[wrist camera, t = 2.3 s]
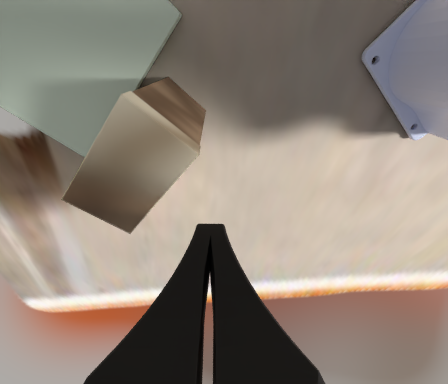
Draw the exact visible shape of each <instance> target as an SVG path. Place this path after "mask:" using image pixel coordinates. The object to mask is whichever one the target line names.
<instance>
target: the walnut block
mask: <svg viewBox="0 0 448 384" xmlns="http://www.w3.org/2000/svg"><path fill="white" fill-rule="evenodd" d="M205 112H206V110H205V109H204V108H203V107H202V106H200V105H199V104H198V103H197V102H196V101H195V100H194V99H193V98H191V97H190V96H189V95H188V94H187V93H186V92H185V91H184V90H182V89H181V88H180V87H179V86H178V85H177V84H176V83H175V82H173V81H172V80H171V79H170V78H169V77H167V78H165V79H162V80H160V81H157V82H155V83H152V84H150V85H147V86H145V87H142V88H140V89H137V90H135V91H128V92H126V93H123V94H121V95H120V97H119V99H118V100H117V102H116V104H115V106H114V108H113V109H112V111H111V113H110V115H109V116H108V118H107V120H106V122H105V123H104V125H103V127H102V129H101V130H100V132H99V134H98V136H97V137H96V139H95V141H94V143H93V144H92V146H91V148H90V150H89V152H88V153H87V155H86V157H85V159H84V160H83V162H82V164H81V166H80V167H79V169H78V171H77V173H76V174H75V176H74V178H73V180H72V181H71V183H70V185H69V187H68V188H67V190H66V192H65V194H64V196H63V197H62V199H61V200H63V201H65V202H67V203H69V204H71V205H73V206H75V207H77V208H79V209H81V210H83V211H85V212H87V213H89V214H91V215H93V216H95V217H97V218H99V219H101V220H103V221H105V222H107V223H109V224H111V225H113V226H115V227H117V228H119V229H121V230H123V231H125V232H127V233H129V234H131V232H132V231H133V230H134V229H135V228H136V227H137V225H138V224H139V223H140V222H141V221H142V220H143V219H144V217H145V216H146V215H147V214H148V213H149V212H150V211H151V209H152V208H153V207H154V206H155V205H156V204H157V203H158V201H159V200H160V199H161V198H162V197H163V196H164V194H165V193H166V192H167V191H168V190H169V189H170V188H171V186H172V185H173V184H174V183H175V182H176V181H177V180H178V178H179V177H180V176H181V175H182V174H183V173H184V171H185V170H186V169H187V168H188V167H189V166H190V165H191V163H192V162H193V161H194V160H195V159H196V158H197V157H198V155H199V153H200V140H201V135H202V129H203V123H204V118H205Z"/></svg>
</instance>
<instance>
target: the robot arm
mask: <svg viewBox="0 0 448 384" xmlns="http://www.w3.org/2000/svg"><path fill="white" fill-rule="evenodd" d="M374 57H376V60H375V62H374V63H373V64H372V59H373V58H374ZM362 61H363V63H364V64H365V66H366V68H367V69H368V71H369V72H370V74H371V76H372V77H373V79H374V81H375V82H376V84H377V85H378V87H379V89H380V90H381V92H382V94H383V95H384V97H385V99H386V100H387V102H388V103H389V105H390V107H391V108H392V110H393V112H394V113H395V115H396V116H397V118H398V120H399V121H400V123H401V125H402V126H403V128H404V129H405V131H406V133H407V134H408V136H409V138H410V139H412V140H418V139H420V138H422V137H423V136H425V135H426V134H427V133H429V134H432V135H435V136H438V137H441V138H443V139H446V140H448V0H415V1H414V2H413V3H412V4H411V5H410V6H409V7H408V8H407V9H406V10H405V11H404V12H403V13H402V14H401V15H400V16H399V17H398V18H397V19H396V20H395V21H394V22H393V23H392V24H391V25H390V26H389V27H388V28H387V29H386V30H385V31H383V32H382V33H381V34H380V35H379V36H378V37H377V38H376V39H375V40H374V41H373V42H372V43H371V44H370V45H369V46H368V47H367V48H366V49H365V50H364V52H363V54H362ZM412 125H413V127H412V128H411V126H412ZM209 274H210V277H211V292H212V306H213V324H214V325H213V329H214V330H213V384H325V382H324V381H323V378H322V376H321V374H320V372H319V371H318V370H317V368H316V367H315V366H314V365H313V364H312V362H311V361H310V360H309V359H308V358H307V357H306V356H305V355H304V354H303V353H302V351H301V350H300V349H299V348H298V347H297V345H296V344H295V343H294V342H293V341H292V340H291V338H290V337H289V336H288V335H287V334H286V332H285V331H284V330H283V329H282V327H281V326H280V325H279V323H278V322H277V321H276V319H275V318H274V317H273V315H272V314H271V313H270V311H269V310H268V309H267V307H266V306H265V305H264V303H263V302H262V300H261V299H260V297H259V296H258V294H257V293H256V291H255V290H254V288H253V287H252V285H251V283H250V282H249V280H248V278H247V277H246V275H245V273H244V271H243V269H242V268H241V266H240V264H239V262H238V260H237V258H236V256H235V253H234V251H233V249H232V247H231V244H230V242H229V239H228V236H227V233H226V230H225V226H224V225H223V224H198V225H197V226H196V230H195V233H194V235H193V238H192V240H191V242H190V244H189V246H188V248H187V250H186V252H185V254H184V256H183V258H182V260H181V262H180V263H179V265H178V267H177V268H176V270H175V272H174V274H173V275H172V277H171V278H170V280H169V281H168V283H167V284H166V286H165V287H164V289H163V290H162V292H161V293H160V294H159V296H158V297H157V298H156V300H155V301H154V302H153V304H152V305H151V306H150V308H149V309H148V310H147V312H146V313H145V314H144V315H143V316H142V318H141V319H140V320H139V321H138V322H137V324H136V325H135V326H134V327H133V328H132V329H131V331H130V332H129V333H128V334H127V335H126V336H125V338H124V339H123V340H122V341H121V342H120V343H119V344H118V345H117V346H116V348H115V349H114V350H113V351H112V352H111V353H110V354H109V355H108V356H107V357H106V358H105V359H104V360H103V361H102V362H101V363H100V364H99V366H98V367H97V368H96V369H95V370H94V371H93V372H92V373H91V374H90V375H89V376H88V377H87V379H86V380H85V382H84V384H202V369H203V339H204V319H205V309H206V301H207V292H208V283H209Z"/></svg>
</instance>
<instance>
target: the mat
mask: <svg viewBox="0 0 448 384" xmlns="http://www.w3.org/2000/svg"><path fill="white" fill-rule="evenodd" d="M181 17H182V14H181V13H180V12H179V11H178V10H177V9H176V8H175V7H174V6H173V4H172V3H171V2H170V1H169V0H0V107H2V108H3V109H5V110H6V111H8V112H10V113H11V114H13V115H15V116H17V117H18V118H20V119H21V120H23V121H25V122H26V123H28V124H30V125H31V126H33V127H35V128H36V129H38V130H40V131H41V132H43V133H45V134H46V135H48V136H50V137H51V138H53V139H55V140H56V141H58V142H60V143H61V144H63V145H65V146H66V147H68V148H70V149H71V150H73V151H75V152H76V153H78V154H80V155H81V156H83V157H86V155H87V153H88V152H89V150H90V148H91V146H92V144H93V143H94V141H95V139H96V137H97V136H98V134H99V132H100V130H101V129H102V127H103V125H104V123H105V122H106V120H107V118H108V116H109V115H110V113H111V111H112V109H113V108H114V106H115V104H116V102H117V100H118V99H119V97H120V95H121V94H123V93H126V92H128V91H135V90H137V89H138V88H139V87H140V85H141V83H142V82H143V80H144V78H145V77H146V75H147V73H148V72H149V70H150V68H151V67H152V65H153V63H154V62H155V60H156V58H157V57H158V55H159V53H160V52H161V50H162V48H163V47H164V45H165V43H166V42H167V40H168V38H169V37H170V35H171V33H172V32H173V30H174V28H175V27H176V25H177V23H178V22H179V20H180V18H181Z"/></svg>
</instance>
